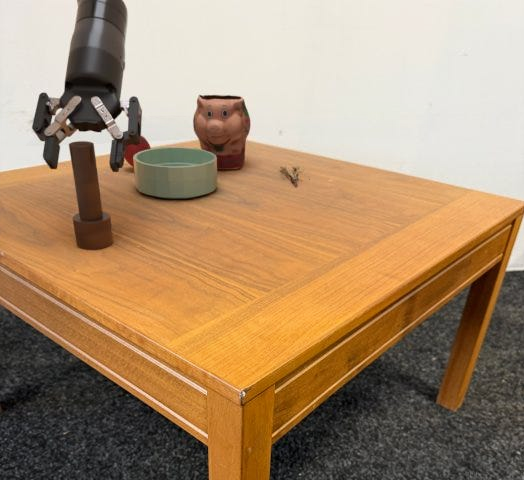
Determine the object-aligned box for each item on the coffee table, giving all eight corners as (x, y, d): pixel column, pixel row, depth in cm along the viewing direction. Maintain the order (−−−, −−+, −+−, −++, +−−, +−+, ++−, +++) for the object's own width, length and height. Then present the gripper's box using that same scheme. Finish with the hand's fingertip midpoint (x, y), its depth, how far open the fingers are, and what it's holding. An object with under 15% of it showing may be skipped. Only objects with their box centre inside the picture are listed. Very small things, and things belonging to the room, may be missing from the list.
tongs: (290, 187, 108) (290, 177, 107) (278, 173, 119) (279, 163, 118) (310, 187, 109) (311, 177, 108) (297, 172, 120) (298, 163, 119)
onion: (158, 169, 116) (155, 129, 111) (136, 174, 112) (132, 133, 108) (140, 164, 119) (137, 125, 115) (118, 169, 115) (114, 128, 111)
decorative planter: (197, 152, 130) (195, 87, 122) (248, 153, 131) (249, 89, 123) (192, 175, 113) (189, 101, 106) (251, 176, 114) (252, 103, 106)
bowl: (133, 201, 97) (130, 167, 94) (138, 177, 110) (136, 146, 107) (219, 200, 99) (219, 167, 96) (214, 177, 112) (214, 147, 109)
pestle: (74, 250, 78) (57, 148, 71) (79, 236, 83) (64, 139, 75) (111, 249, 79) (99, 148, 71) (114, 236, 83) (103, 139, 76)
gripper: (35, 41, 74) (18, 149, 71) (140, 46, 74) (128, 154, 70) (56, 80, 81) (41, 179, 78) (151, 84, 81) (141, 184, 78)
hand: (82, 167), depth 74 cm, fingers open, 8 cm apart
